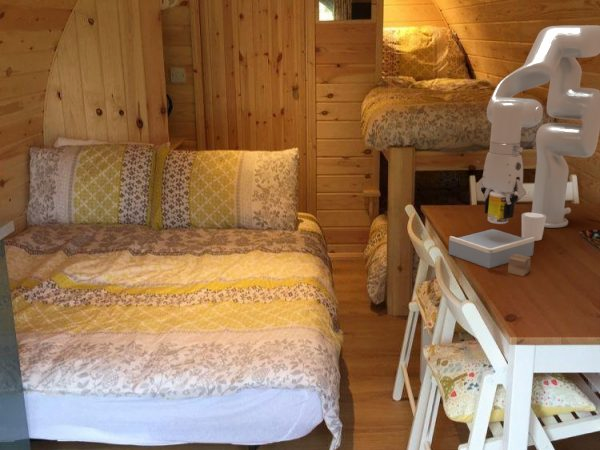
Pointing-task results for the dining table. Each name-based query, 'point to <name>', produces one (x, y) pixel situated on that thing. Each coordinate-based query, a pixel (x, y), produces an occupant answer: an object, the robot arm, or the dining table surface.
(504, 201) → the supplement bottle
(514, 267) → the light brown cube
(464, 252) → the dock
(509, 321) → the dining table surface
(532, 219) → the white cup
